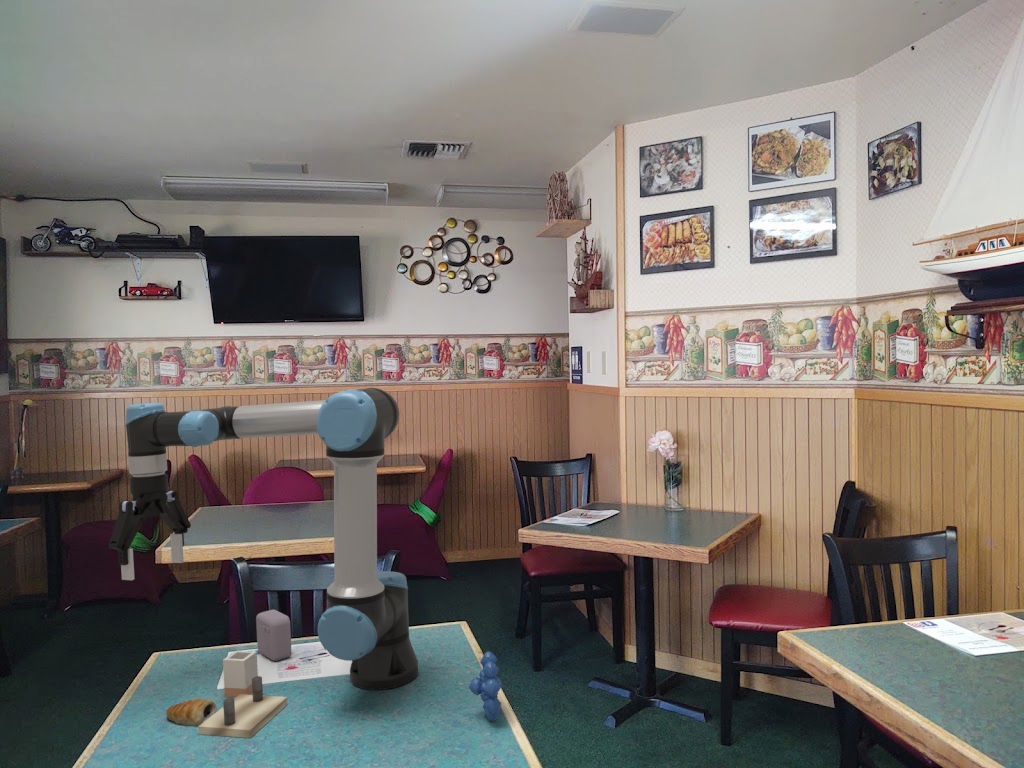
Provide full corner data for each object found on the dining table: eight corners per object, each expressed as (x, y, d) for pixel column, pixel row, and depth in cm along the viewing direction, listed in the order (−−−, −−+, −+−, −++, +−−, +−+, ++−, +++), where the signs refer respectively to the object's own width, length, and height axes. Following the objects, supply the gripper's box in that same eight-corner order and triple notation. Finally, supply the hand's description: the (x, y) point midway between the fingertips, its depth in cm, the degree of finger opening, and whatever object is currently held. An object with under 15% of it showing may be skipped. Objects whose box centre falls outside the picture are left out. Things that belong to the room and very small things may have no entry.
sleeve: (258, 687, 162) (256, 651, 162) (245, 698, 158) (244, 660, 157) (237, 686, 164) (236, 650, 163) (224, 696, 159) (222, 659, 158)
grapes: (467, 703, 151) (465, 645, 151) (500, 700, 152) (498, 642, 152) (471, 731, 140) (468, 668, 139) (506, 727, 140) (504, 665, 140)
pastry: (158, 725, 147) (157, 706, 147) (180, 709, 154) (179, 691, 154) (200, 728, 145) (199, 708, 145) (220, 712, 152) (219, 694, 152)
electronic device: (255, 653, 183) (253, 612, 183) (273, 647, 186) (271, 608, 186) (273, 664, 176) (271, 622, 175) (291, 658, 179) (289, 617, 178)
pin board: (287, 704, 154) (286, 675, 154) (250, 738, 140) (248, 706, 140) (239, 701, 156) (238, 672, 156) (198, 734, 143) (196, 703, 142)
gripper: (178, 465, 175) (183, 555, 176) (85, 483, 152) (91, 586, 152) (204, 466, 173) (208, 556, 173) (113, 483, 149) (119, 588, 150)
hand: (153, 570), depth 163 cm, fingers open, 13 cm apart
